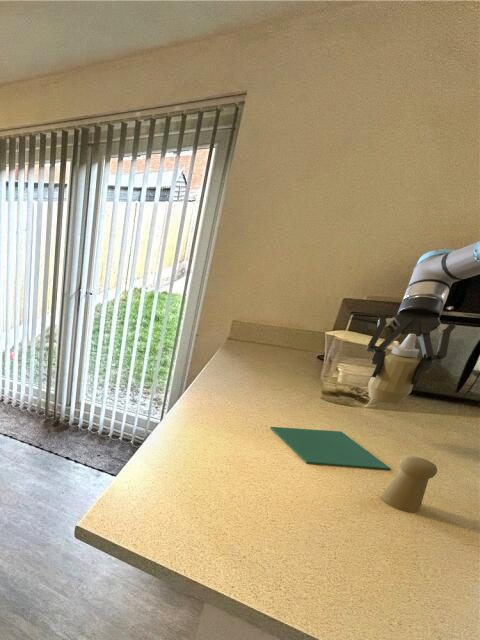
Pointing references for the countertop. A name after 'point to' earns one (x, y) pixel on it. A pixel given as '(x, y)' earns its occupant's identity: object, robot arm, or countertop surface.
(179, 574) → the countertop surface
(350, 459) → the mat
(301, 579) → the countertop surface
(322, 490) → the countertop surface
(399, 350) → the squeeze bottle
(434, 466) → the cork
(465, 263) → the robot arm
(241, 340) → the countertop surface
